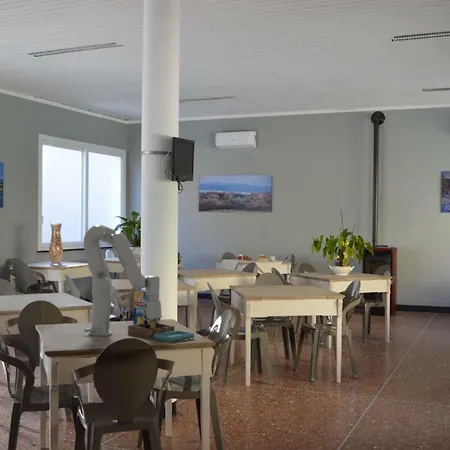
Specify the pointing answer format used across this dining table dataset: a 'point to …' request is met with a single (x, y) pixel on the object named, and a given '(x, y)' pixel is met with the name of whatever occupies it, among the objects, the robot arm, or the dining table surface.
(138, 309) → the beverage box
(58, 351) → the dining table surface
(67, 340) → the dining table surface
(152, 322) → the mustard cylinder
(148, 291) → the robot arm
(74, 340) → the dining table surface
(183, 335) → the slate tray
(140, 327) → the brown wooden tray
